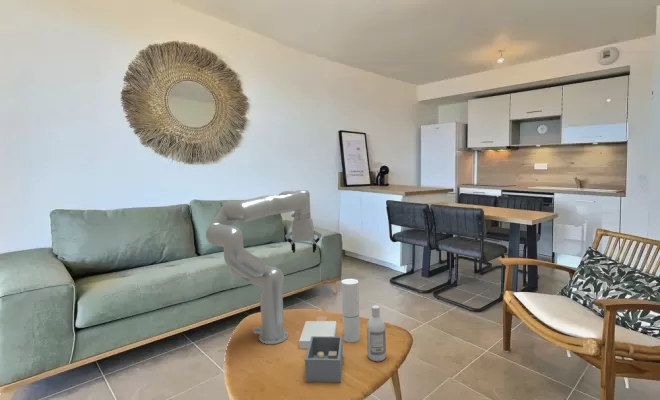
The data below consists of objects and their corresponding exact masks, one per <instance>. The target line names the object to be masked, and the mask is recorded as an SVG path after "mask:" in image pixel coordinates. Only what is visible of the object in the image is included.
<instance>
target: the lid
mask: <svg viewBox="0 0 660 400" xmlns="http://www.w3.org/2000/svg"><path fill="white" fill-rule="evenodd" d="M337 325H338V324H337V321H336V320H335V321H334V320H328V316H326V315H325V316H324V315H323V316H322V315H321V316H320V315H319V316H318V315H317V318H316V320H313V321H312V320H305V322H304V325H303V329H302V331H301V334H300V338H299V340H298V343H299V345H298V348H299V350H300V349H301V350H303V349H305V350H308V347H309V343H310V340H311V336H334V337H337Z"/></svg>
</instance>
